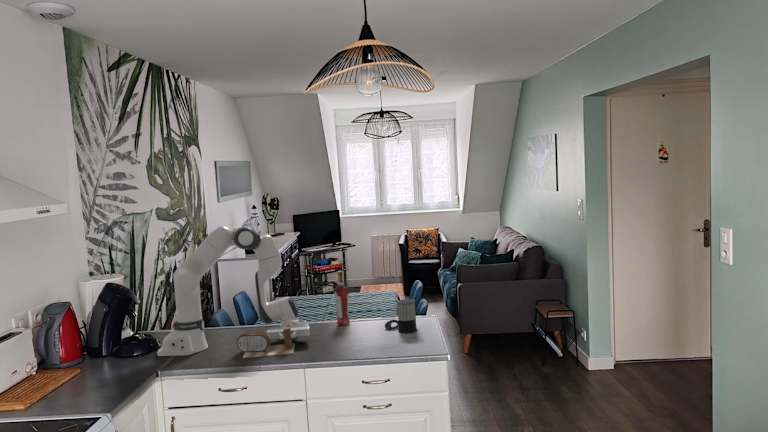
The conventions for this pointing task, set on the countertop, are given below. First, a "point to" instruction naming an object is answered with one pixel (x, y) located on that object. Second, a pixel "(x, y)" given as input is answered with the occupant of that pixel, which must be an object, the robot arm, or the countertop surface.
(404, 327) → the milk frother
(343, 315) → the liquor
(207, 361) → the countertop surface
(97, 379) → the countertop surface
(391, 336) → the countertop surface
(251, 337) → the tin
